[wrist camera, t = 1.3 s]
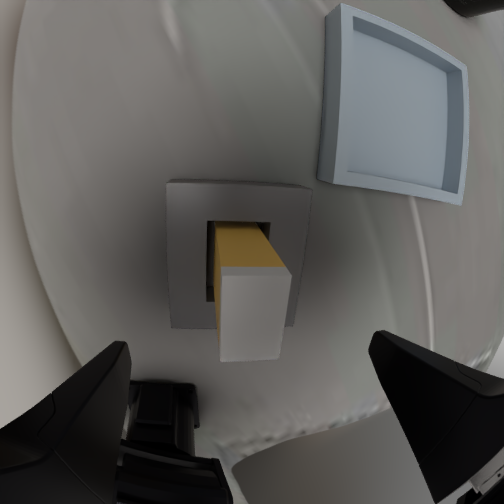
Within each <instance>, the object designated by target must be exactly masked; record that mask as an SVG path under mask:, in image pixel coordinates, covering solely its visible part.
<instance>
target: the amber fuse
mask: <svg viewBox="0 0 504 504" xmlns="http://www.w3.org/2000/svg"><path fill="white" fill-rule="evenodd" d="M291 278H292V275H291V274H290V272H289V271H288V269H287V268H286V266H285V265H284V263H283V262H282V260H281V259H280V257H279V256H278V254H277V253H276V252H275V250H274V249H273V247H272V246H271V244H270V243H269V241H268V240H267V238H266V237H265V236H264V234H263V233H262V231H261V230H260V228H259V227H258V225H257V224H256V223H255V222H243V221H215V231H214V266H213V284H214V297H215V310H216V322H217V333H218V344H219V354H220V362H241V361H261V360H276V359H279V355H280V349H281V343H282V337H283V331H284V325H285V318H286V312H287V305H288V299H289V292H290V285H291Z"/></svg>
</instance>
